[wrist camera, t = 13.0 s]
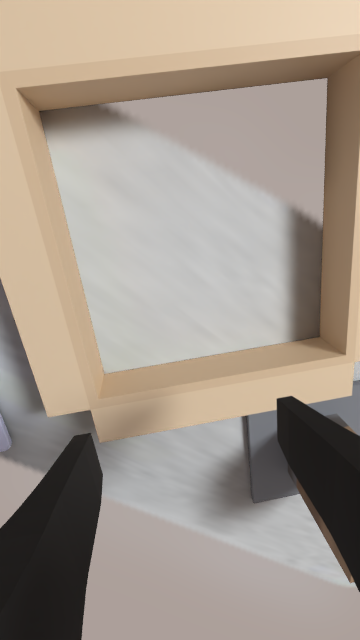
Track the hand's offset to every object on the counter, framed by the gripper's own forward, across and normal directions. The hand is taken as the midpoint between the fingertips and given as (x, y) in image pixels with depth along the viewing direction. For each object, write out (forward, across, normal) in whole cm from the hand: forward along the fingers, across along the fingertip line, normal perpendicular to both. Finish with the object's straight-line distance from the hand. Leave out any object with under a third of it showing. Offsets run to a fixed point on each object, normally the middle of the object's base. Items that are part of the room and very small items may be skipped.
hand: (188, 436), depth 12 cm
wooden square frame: (+9, -3, -6) cm, 12 cm away
